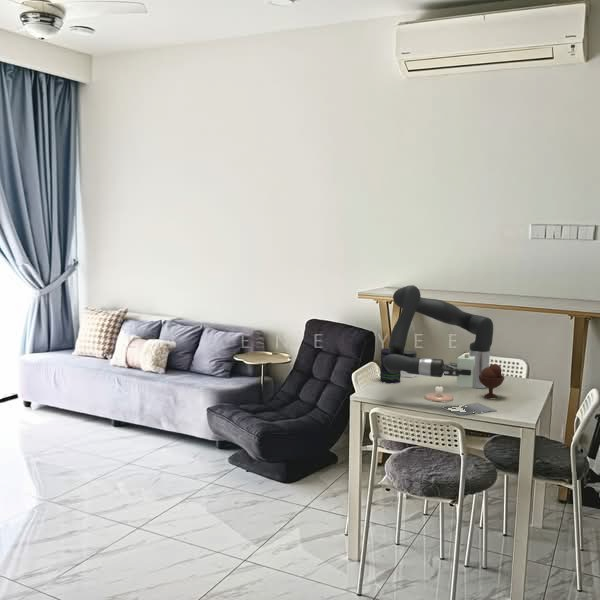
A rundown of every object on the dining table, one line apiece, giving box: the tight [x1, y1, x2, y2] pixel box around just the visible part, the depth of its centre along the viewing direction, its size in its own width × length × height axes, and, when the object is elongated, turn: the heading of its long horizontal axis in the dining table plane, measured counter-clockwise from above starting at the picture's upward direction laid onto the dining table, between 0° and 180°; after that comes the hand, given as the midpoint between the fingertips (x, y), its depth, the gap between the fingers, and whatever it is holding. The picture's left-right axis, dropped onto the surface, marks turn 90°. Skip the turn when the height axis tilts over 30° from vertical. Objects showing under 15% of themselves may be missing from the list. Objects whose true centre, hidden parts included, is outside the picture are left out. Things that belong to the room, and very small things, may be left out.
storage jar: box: [379, 348, 402, 384], centre depth 325 cm, size 10×10×15 cm
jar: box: [400, 349, 417, 378], centre depth 337 cm, size 9×8×12 cm
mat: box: [443, 402, 497, 417], centre depth 279 cm, size 18×12×1 cm, turn 113°
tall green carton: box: [456, 353, 475, 388], centre depth 277 cm, size 6×6×13 cm
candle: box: [434, 384, 444, 397], centre depth 295 cm, size 3×3×5 cm
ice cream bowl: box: [479, 363, 505, 399], centre depth 298 cm, size 11×11×15 cm
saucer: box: [424, 392, 454, 402], centre depth 295 cm, size 12×12×1 cm
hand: (472, 371), depth 276 cm, fingers closed on tall green carton, 6 cm apart
